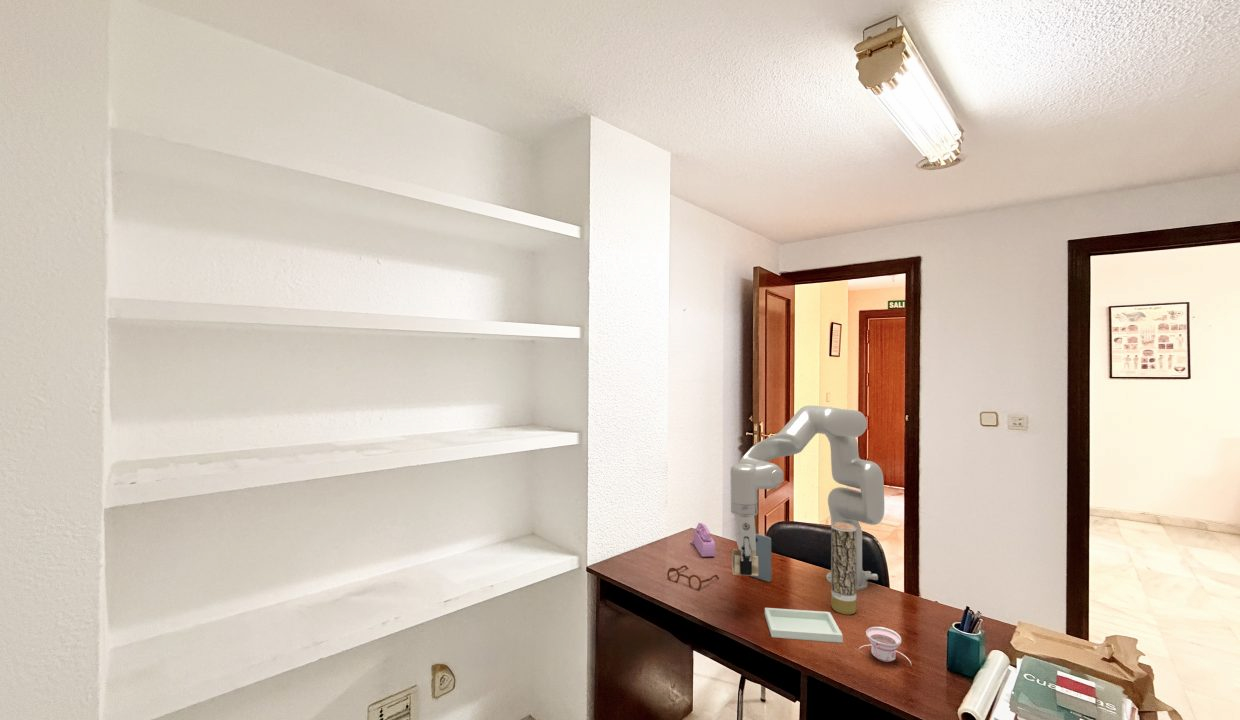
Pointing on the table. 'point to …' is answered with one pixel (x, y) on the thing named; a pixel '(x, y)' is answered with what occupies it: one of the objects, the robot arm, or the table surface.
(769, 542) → the smartphone
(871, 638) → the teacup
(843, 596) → the paper tube
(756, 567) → the beige open holder
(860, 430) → the robot arm
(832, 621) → the tray
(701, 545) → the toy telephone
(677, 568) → the glasses
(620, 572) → the table surface
